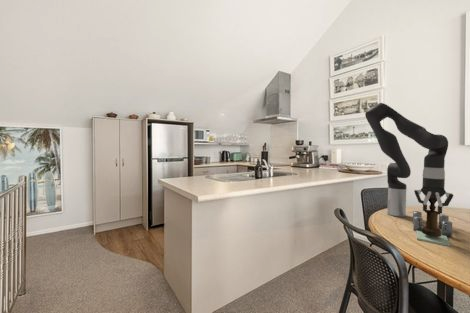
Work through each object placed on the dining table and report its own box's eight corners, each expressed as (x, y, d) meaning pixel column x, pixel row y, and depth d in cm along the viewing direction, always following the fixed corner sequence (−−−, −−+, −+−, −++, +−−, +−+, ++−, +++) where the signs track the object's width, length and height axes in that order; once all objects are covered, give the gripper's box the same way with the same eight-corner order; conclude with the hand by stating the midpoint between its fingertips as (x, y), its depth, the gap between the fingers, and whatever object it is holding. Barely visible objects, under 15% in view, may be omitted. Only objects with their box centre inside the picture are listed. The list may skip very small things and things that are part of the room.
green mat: (416, 239, 99) (417, 237, 99) (416, 231, 108) (416, 230, 108) (450, 246, 92) (450, 244, 92) (446, 237, 101) (446, 236, 101)
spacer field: (413, 231, 109) (413, 217, 109) (412, 222, 121) (413, 210, 121) (452, 238, 100) (453, 223, 100) (447, 228, 112) (448, 215, 112)
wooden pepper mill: (436, 232, 102) (437, 195, 101) (444, 237, 96) (445, 198, 95) (419, 230, 104) (420, 194, 104) (426, 236, 98) (427, 197, 98)
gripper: (413, 176, 101) (412, 212, 101) (456, 179, 92) (455, 218, 92) (413, 175, 107) (412, 208, 107) (453, 177, 98) (452, 214, 98)
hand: (432, 212), depth 100 cm, fingers closed on wooden pepper mill, 4 cm apart
